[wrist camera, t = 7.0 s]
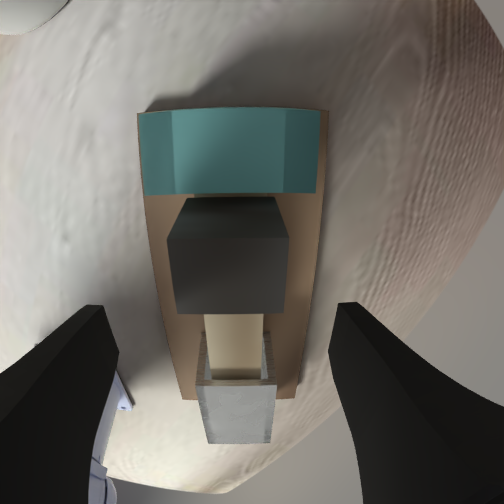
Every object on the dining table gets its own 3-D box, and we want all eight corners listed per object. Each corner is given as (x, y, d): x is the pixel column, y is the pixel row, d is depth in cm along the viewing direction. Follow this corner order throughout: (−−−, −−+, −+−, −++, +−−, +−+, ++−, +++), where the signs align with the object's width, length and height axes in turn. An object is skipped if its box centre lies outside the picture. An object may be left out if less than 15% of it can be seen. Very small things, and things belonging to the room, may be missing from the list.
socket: (174, 165, 15) (144, 195, 11) (171, 110, 14) (138, 114, 9) (291, 163, 16) (315, 193, 11) (293, 108, 14) (320, 110, 9)
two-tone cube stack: (209, 346, 20) (203, 434, 14) (194, 129, 14) (158, 151, 8) (262, 346, 20) (270, 433, 14) (269, 128, 14) (294, 148, 8)
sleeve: (210, 397, 24) (208, 443, 20) (201, 332, 21) (195, 385, 17) (265, 396, 25) (269, 442, 20) (270, 331, 21) (277, 384, 17)
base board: (184, 389, 26) (182, 399, 25) (143, 112, 15) (136, 113, 14) (292, 388, 26) (294, 398, 25) (322, 110, 15) (328, 110, 14)
